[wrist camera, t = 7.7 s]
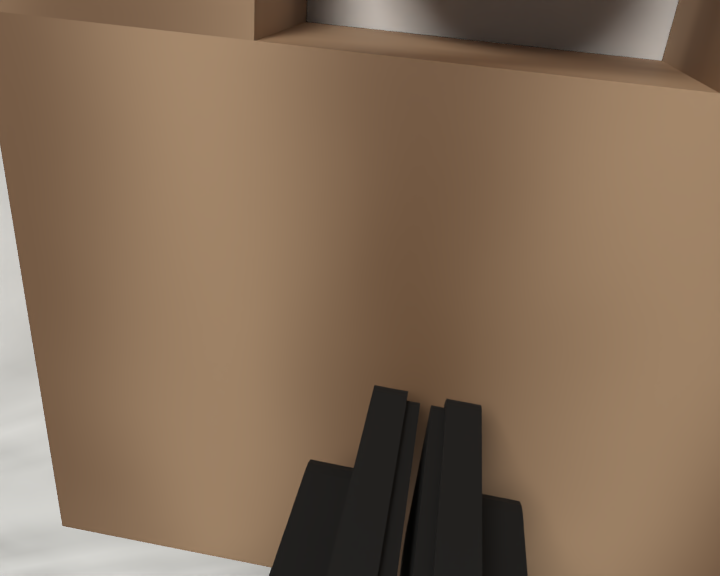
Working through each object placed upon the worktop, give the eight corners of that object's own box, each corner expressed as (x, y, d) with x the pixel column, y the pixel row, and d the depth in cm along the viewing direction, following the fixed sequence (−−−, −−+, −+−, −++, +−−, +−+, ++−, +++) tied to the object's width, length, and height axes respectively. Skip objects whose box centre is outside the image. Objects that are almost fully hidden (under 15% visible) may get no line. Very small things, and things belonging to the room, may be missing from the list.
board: (1287, -703, 7) (1800, -1124, 4) (714, 540, 15) (765, 665, 12) (26, -694, 8) (-187, -1001, 6) (129, 434, 16) (62, 525, 14)
